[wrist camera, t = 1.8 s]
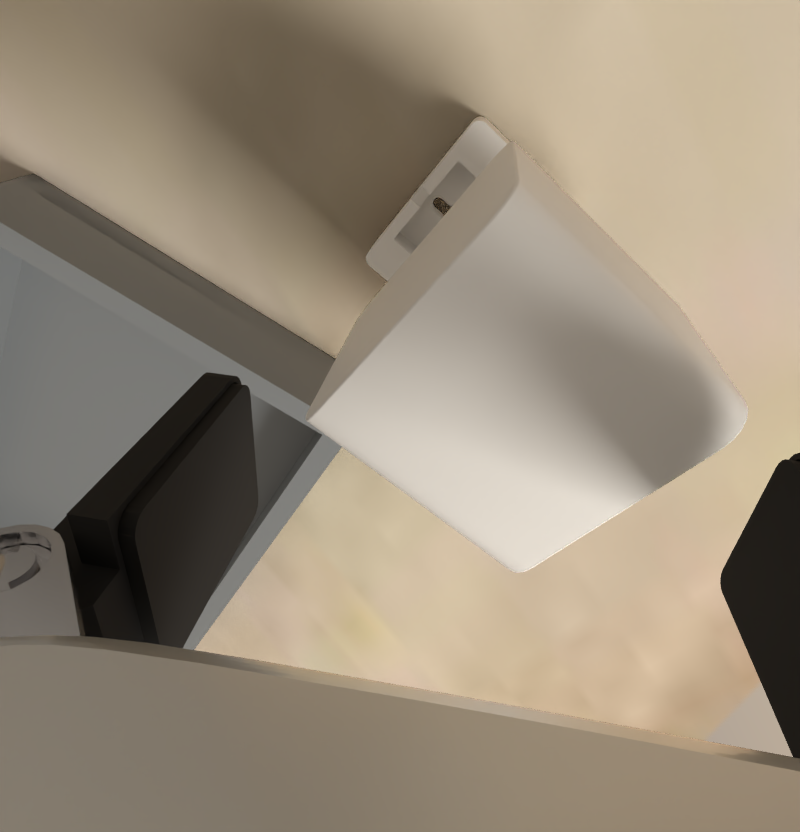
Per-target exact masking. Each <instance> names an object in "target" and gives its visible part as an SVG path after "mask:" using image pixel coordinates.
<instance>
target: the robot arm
mask: <svg viewBox="0 0 800 832" xmlns="http://www.w3.org/2000/svg"><path fill="white" fill-rule="evenodd" d="M257 508H258V486H257V473H256V460H255V447H254V434H253V421H252V408H251V395H250V389H249V387H248V386H247V385H242V384H241V381H240V378H238V377H237V376H232V375H224V374H217V373H210V372H206V373H205V374H203V375H202V376H201V377H200V378H199V379H198V380H197V381H196V382H195V383H194V384H193V385H192V386H191V387H190V388H189V389H188V390H187V392H186V393H185V394H184V395H183V396H182V397H181V398H180V399H179V400H178V401H177V402H176V403H175V404H174V405H173V406H172V407H171V408H170V409H169V410H168V411H167V412H166V413H165V414H164V415H163V416H162V417H161V418H160V419H159V420H158V421H157V422H156V423H155V424H154V425H153V426H152V427H151V428H150V429H149V430H148V431H147V432H146V433H145V434H144V435H143V436H142V437H141V438H140V440H139V441H138V442H137V443H136V444H135V445H134V446H133V447H132V448H131V449H130V450H129V451H128V452H127V453H126V454H125V455H124V456H123V457H122V458H121V459H120V460H119V461H118V462H117V463H116V464H115V465H114V466H113V467H112V468H111V469H110V470H109V471H108V472H107V473H106V474H105V475H104V476H103V477H102V478H101V479H100V480H99V481H98V482H97V483H96V484H95V485H94V486H93V487H92V489H91V490H90V491H89V492H88V493H87V494H86V495H85V496H84V497H83V498H82V499H81V500H80V501H79V502H78V503H77V504H76V505H75V506H74V507H73V508H72V509H71V510H70V511H69V512H68V513H67V516H66V517H65V518H64V519H63V520H62V521H61V522H60V523H59V524H58V525H57V526H56V527H55V528H54V529H51V528H49V527H45V526H41V525H37V524H20V525H14V526H9V527H3V528H0V832H800V453H797V454H795V455H793V456H792V457H791V458H790V459H789V460H782V461H781V462H780V463H779V464H778V466H777V467H776V469H775V471H774V473H773V475H772V477H771V478H770V480H769V482H768V484H767V486H766V488H765V490H764V492H763V494H762V496H761V498H760V500H759V501H758V503H757V505H756V507H755V509H754V511H753V513H752V515H751V517H750V519H749V521H748V522H747V524H746V526H745V528H744V530H743V532H742V534H741V536H740V538H739V540H738V542H737V544H736V545H735V547H734V549H733V551H732V553H731V555H730V557H729V559H728V561H727V563H726V565H725V567H724V568H723V571H722V573H721V589H722V593H723V595H724V597H725V600H726V602H727V604H728V607H729V609H730V611H731V614H732V616H733V618H734V621H735V623H736V625H737V628H738V630H739V632H740V634H741V637H742V639H743V641H744V644H745V646H746V648H747V651H748V653H749V655H750V658H751V660H752V662H753V665H754V667H755V669H756V672H757V674H758V676H759V679H760V681H761V683H762V686H763V688H764V690H765V692H766V695H767V697H768V699H769V702H770V704H771V706H772V709H773V711H774V713H775V716H776V718H777V720H778V723H779V725H780V727H781V730H782V732H783V734H784V737H785V739H786V741H787V744H788V746H789V748H790V750H791V753H792V755H793V757H789V756H784V755H778V754H773V753H767V752H762V751H757V750H752V749H746V748H741V747H735V746H730V745H725V744H719V743H714V742H709V741H703V740H698V739H693V738H687V737H682V736H677V735H671V734H666V733H661V732H655V731H650V730H644V729H639V728H633V727H628V726H622V725H617V724H611V723H606V722H601V721H595V720H590V719H584V718H579V717H573V716H568V715H562V714H557V713H551V712H546V711H540V710H535V709H529V708H524V707H518V706H512V705H507V704H501V703H496V702H490V701H485V700H479V699H474V698H468V697H463V696H457V695H451V694H446V693H440V692H435V691H429V690H424V689H418V688H412V687H407V686H401V685H395V684H390V683H384V682H378V681H372V680H367V679H361V678H355V677H350V676H344V675H338V674H333V673H327V672H321V671H316V670H310V669H304V668H298V667H293V666H287V665H281V664H276V663H270V662H264V661H259V660H253V659H246V658H240V657H234V656H227V655H221V654H215V653H209V652H202V651H196V650H190V649H183V647H184V645H185V643H186V641H187V639H188V637H189V636H190V634H191V632H192V630H193V628H194V627H195V625H196V623H197V621H198V619H199V617H200V616H201V614H202V612H203V610H204V608H205V607H206V605H207V603H208V601H209V599H210V597H211V596H212V594H213V592H214V590H215V588H216V586H217V585H218V583H219V581H220V579H221V577H222V576H223V574H224V572H225V570H226V568H227V566H228V565H229V563H230V561H231V559H232V557H233V556H234V554H235V552H236V550H237V548H238V546H239V545H240V543H241V541H242V539H243V537H244V535H245V534H246V532H247V530H248V528H249V526H250V525H251V523H252V521H253V519H254V517H255V515H256V512H257Z"/></svg>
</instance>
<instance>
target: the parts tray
mask: <svg viewBox="0 0 800 832" xmlns="http://www.w3.org/2000/svg"><path fill="white" fill-rule="evenodd" d="M335 360H336V359H334V358H332V357H331V356H329V355H327V354H326V353H324V352H323V351H321V350H319V349H318V348H316V347H314V346H313V345H311V344H310V343H308V342H306V341H305V340H303V339H301V338H300V337H298V336H297V335H295V334H293V333H292V332H290V331H288V330H287V329H285V328H284V327H282V326H280V325H279V324H277V323H275V322H274V321H272V320H271V319H269V318H267V317H266V316H264V315H262V314H261V313H259V312H258V311H256V310H254V309H253V308H251V307H249V306H248V305H246V304H245V303H243V302H241V301H240V300H238V299H236V298H235V297H233V296H232V295H230V294H228V293H227V292H225V291H223V290H222V289H220V288H219V287H217V286H215V285H214V284H212V283H210V282H209V281H207V280H206V279H204V278H202V277H201V276H199V275H197V274H196V273H194V272H193V271H191V270H189V269H188V268H186V267H184V266H183V265H181V264H180V263H178V262H176V261H175V260H173V259H171V258H170V257H168V256H167V255H165V254H163V253H162V252H160V251H158V250H157V249H155V248H154V247H152V246H150V245H149V244H147V243H145V242H144V241H142V240H141V239H139V238H137V237H136V236H134V235H132V234H131V233H129V232H128V231H126V230H124V229H123V228H121V227H119V226H118V225H116V224H115V223H113V222H111V221H110V220H108V219H106V218H105V217H103V216H102V215H100V214H98V213H97V212H95V211H93V210H92V209H90V208H89V207H87V206H85V205H84V204H82V203H80V202H79V201H77V200H76V199H74V198H72V197H71V196H69V195H67V194H66V193H64V192H63V191H61V190H59V189H58V188H56V187H54V186H53V185H51V184H50V183H48V182H46V181H45V180H43V179H41V178H40V177H38V176H37V175H35V174H31V175H27V176H24V177H20V178H16V179H12V180H8V181H5V182H1V183H0V528H3V527H9V526H14V525H20V524H37V525H41V526H45V527H49V528H51V529H54V528H55V527H56V526H57V525H58V524H59V523H60V522H61V521H62V520H63V519H64V518H65V517H66V516H67V513H68V512H69V511H70V510H71V509H72V508H73V507H74V506H75V505H76V504H77V503H78V502H79V501H80V500H81V499H82V498H83V497H84V496H85V495H86V494H87V493H88V492H89V491H90V490H91V489H92V487H93V486H94V485H95V484H96V483H97V482H98V481H99V480H100V479H101V478H102V477H103V476H104V475H105V474H106V473H107V472H108V471H109V470H110V469H111V468H112V467H113V466H114V465H115V464H116V463H117V462H118V461H119V460H120V459H121V458H122V457H123V456H124V455H125V454H126V453H127V452H128V451H129V450H130V449H131V448H132V447H133V446H134V445H135V444H136V443H137V442H138V441H139V440H140V438H141V437H142V436H143V435H144V434H145V433H146V432H147V431H148V430H149V429H150V428H151V427H152V426H153V425H154V424H155V423H156V422H157V421H158V420H159V419H160V418H161V417H162V416H163V415H164V414H165V413H166V412H167V411H168V410H169V409H170V408H171V407H172V406H173V405H174V404H175V403H176V402H177V401H178V400H179V399H180V398H181V397H182V396H183V395H184V394H185V393H186V392H187V390H188V389H189V388H190V387H191V386H192V385H193V384H194V383H195V382H196V381H197V380H198V379H199V378H200V377H201V376H202V375H203V374H205V373H206V372H210V373H217V374H224V375H232V376H237V377H238V378H240V381H241V384H242V385H247V386H248V387H249V389H250V395H251V408H252V421H253V434H254V447H255V460H256V473H257V486H258V508H257V512H256V515H255V517H254V519H253V521H252V523H251V525H250V526H249V528H248V530H247V532H246V534H245V535H244V537H243V539H242V541H241V543H240V545H239V546H238V548H237V550H236V552H235V554H234V556H233V557H232V559H231V561H230V563H229V565H228V566H227V568H226V570H225V572H224V574H223V576H222V577H221V579H220V581H219V583H218V585H217V586H216V588H215V590H214V592H213V594H212V596H211V597H210V599H209V601H208V603H207V605H206V607H205V608H204V610H203V612H202V614H201V616H200V617H199V619H198V621H197V623H196V625H195V627H194V628H193V630H192V632H191V634H190V636H189V637H188V639H187V641H186V643H185V645H184V647H183V649H190V650H194V649H195V648H196V646H197V645H198V644H199V642H200V641H201V639H202V638H203V637H204V635H205V634H206V633H207V631H208V630H209V628H210V627H211V626H212V624H213V623H214V622H215V620H216V619H217V618H218V616H219V615H220V613H221V612H222V611H223V609H224V608H225V607H226V605H227V604H228V602H229V601H230V600H231V598H232V597H233V596H234V594H235V593H236V591H237V590H238V589H239V587H240V586H241V585H242V583H243V582H244V580H245V579H246V578H247V576H248V575H249V574H250V572H251V571H252V569H253V568H254V567H255V565H256V564H257V563H258V561H259V560H260V558H261V557H262V556H263V554H264V553H265V552H266V550H267V549H268V547H269V546H270V545H271V543H272V542H273V541H274V539H275V538H276V536H277V535H278V534H279V532H280V531H281V530H282V528H283V527H284V526H285V524H286V523H287V521H288V520H289V519H290V517H291V516H292V515H293V513H294V512H295V510H296V509H297V508H298V506H299V505H300V504H301V502H302V501H303V499H304V498H305V497H306V495H307V494H308V493H309V491H310V490H311V488H312V487H313V486H314V484H315V483H316V482H317V480H318V479H319V477H320V476H321V475H322V473H323V472H324V471H325V469H326V468H327V466H328V465H329V464H330V462H331V461H332V460H333V458H334V457H335V455H336V454H337V453H338V451H339V450H340V449H341V446H340V445H339V444H337V443H336V442H335V441H333V440H332V439H331V438H329V437H328V436H326V435H325V434H324V433H322V432H321V431H320V430H318V429H317V428H316V427H314V426H313V425H311V424H310V423H309V422H307V421H306V414H307V412H308V410H309V408H310V406H311V404H312V402H313V401H314V399H315V397H316V395H317V393H318V391H319V389H320V388H321V386H322V384H323V382H324V380H325V378H326V376H327V374H328V373H329V371H330V369H331V367H332V365H333V363H334V361H335Z"/></svg>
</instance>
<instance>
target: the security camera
mask: <svg viewBox="0 0 800 832" xmlns="http://www.w3.org/2000/svg"><path fill="white" fill-rule="evenodd" d="M435 198H441V199H443V200H444V201H445V202H446V203H447V204H448V205H449V206H450V207H451V206H452V207H451V208H450V209H449V211H448V212H447V213H446V214H445V215H444V216H443V214H442V213H441V212H440V211H439V210H438V209H437V208H436V207H435V206H434V204H433V200H434V199H435ZM366 262H367V264H368V265H369V266H370V267H371V268H373V269H374V270H375V271H376V272H377V273H378V274H380V275H381V276H382V277H383V278H384V279H385V280H387V281H388V282H387V283H386V284H385V285H384V286H383V287H382V289H381V290H380V291H379V292H378V293H377V294H376V296H375V297H374V298H373V299H372V300H371V302H370V303H369V304H368V305H367V307H366V308H365V309H364V311H363V312H362V313H361V315H360V316H359V318H358V319H357V321H356V322H355V324H354V326H353V328H352V330H351V332H350V333H349V335H348V337H347V339H346V341H345V343H344V345H343V346H342V348H341V350H340V352H339V354H338V356H337V358H336V360H335V361H334V363H333V365H332V367H331V369H330V371H329V373H328V374H327V376H326V378H325V380H324V382H323V384H322V386H321V388H320V389H319V391H318V393H317V395H316V397H315V399H314V401H313V402H312V404H311V406H310V408H309V410H308V412H307V414H306V421H307V422H309V423H310V424H311V425H313V426H314V427H316V428H317V429H318V430H320V431H321V432H322V433H324V434H325V435H326V436H328V437H329V438H331V439H332V440H333V441H335V442H336V443H337V444H339V445H340V446H341V447H343V448H344V449H345V450H347V451H348V452H350V453H351V454H352V455H354V456H355V457H356V458H358V459H359V460H360V461H362V462H363V463H365V464H366V465H367V466H369V467H370V468H371V469H373V470H374V471H375V472H377V473H378V474H379V475H381V476H382V477H384V478H385V479H386V480H388V481H389V482H390V483H392V484H393V485H394V486H396V487H397V488H399V489H400V490H401V491H403V492H404V493H405V494H407V495H408V496H409V497H411V498H412V499H413V500H415V501H416V502H418V503H419V504H420V505H422V506H423V507H424V508H426V509H427V510H428V511H430V512H431V513H433V514H434V515H435V516H437V517H438V518H439V519H441V520H442V521H443V522H445V523H446V524H447V525H449V526H450V527H452V528H453V529H454V530H456V531H457V532H458V533H460V534H461V535H462V536H464V537H465V538H467V539H468V540H469V541H471V542H472V543H473V544H475V545H476V546H477V547H479V548H480V549H482V550H483V551H484V552H486V553H487V554H488V555H490V556H491V557H492V558H494V559H495V560H496V561H498V562H499V563H501V564H502V565H503V566H505V567H506V568H507V569H509V570H510V571H513V572H515V573H519V572H525V571H527V570H529V569H531V568H533V567H535V566H536V565H538V564H539V563H541V562H543V561H544V560H546V559H547V558H549V557H551V556H552V555H554V554H555V553H557V552H559V551H560V550H562V549H563V548H565V547H567V546H568V545H570V544H571V543H573V542H575V541H576V540H578V539H579V538H581V537H582V536H584V535H586V534H587V533H589V532H590V531H592V530H594V529H595V528H597V527H598V526H600V525H602V524H603V523H605V522H606V521H608V520H610V519H611V518H613V517H614V516H616V515H618V514H619V513H621V512H622V511H624V510H626V509H627V508H629V507H630V506H632V505H634V504H635V503H637V502H638V501H640V500H641V499H643V498H645V497H646V496H648V495H649V494H651V493H653V492H654V491H656V490H657V489H659V488H661V487H662V486H664V485H665V484H667V483H669V482H670V481H672V480H673V479H675V478H677V477H678V476H680V475H681V474H683V473H685V472H686V471H688V470H689V469H691V468H693V467H694V466H696V465H697V464H699V463H700V462H702V461H704V460H705V459H707V458H708V457H710V456H712V455H713V454H715V453H716V452H718V451H720V450H721V449H723V448H724V447H725V446H726V445H728V444H729V443H730V442H732V441H733V440H734V439H735V437H736V436H737V435H738V434H739V433H740V432H741V430H742V428H743V426H744V424H745V422H746V420H747V415H748V407H747V404H746V401H745V400H744V398H743V397H742V395H741V394H740V392H739V391H738V389H737V388H736V387H735V385H734V384H733V382H732V381H731V379H730V378H729V376H728V375H727V374H726V372H725V371H724V369H723V368H722V366H721V365H720V363H719V362H718V361H717V359H716V358H715V356H714V355H713V353H712V352H711V351H710V349H709V348H708V346H707V345H706V343H705V342H704V340H703V339H702V338H701V336H700V335H699V333H698V332H697V330H696V329H695V327H694V326H693V325H692V323H691V322H690V320H689V319H688V317H687V316H686V314H685V313H684V312H683V310H682V309H681V307H680V306H679V305H678V304H677V303H676V302H675V301H674V300H673V299H672V298H671V297H670V296H669V295H668V294H667V293H666V292H665V291H664V290H663V289H662V288H661V287H660V286H659V285H658V284H657V283H656V282H655V281H654V280H653V279H652V278H651V277H650V276H649V275H648V274H647V273H646V272H645V271H644V270H643V269H642V268H641V267H640V266H639V265H638V264H637V263H636V262H635V261H634V260H633V259H632V258H631V257H630V256H629V255H628V254H627V253H626V252H625V251H624V250H623V249H622V248H621V247H620V246H619V245H618V244H617V243H616V242H615V241H614V240H613V239H612V238H611V237H610V236H609V235H608V234H607V233H606V232H605V231H604V230H603V229H602V228H601V227H600V226H599V225H598V224H597V223H596V222H595V221H594V220H593V219H592V218H591V217H590V216H589V215H588V214H587V213H586V212H585V211H584V210H583V209H582V208H581V207H580V206H579V205H578V204H577V203H576V202H575V201H574V200H573V199H572V198H571V197H570V196H569V195H568V194H567V193H566V192H565V191H564V190H563V189H562V188H561V187H560V186H559V185H558V184H557V183H556V182H555V181H554V180H553V179H552V178H551V177H550V176H549V175H548V174H547V173H546V172H545V171H544V170H543V169H542V168H541V167H540V166H539V165H538V164H537V163H536V162H535V161H534V160H533V159H532V158H531V157H530V156H529V155H528V154H527V153H526V152H525V151H524V150H523V149H522V148H521V147H520V146H519V145H518V144H517V143H516V142H515V141H511V142H510V141H509V140H508V139H507V138H506V137H505V136H504V135H503V134H502V133H501V132H500V131H499V130H498V129H497V128H496V127H495V126H494V125H493V124H492V123H491V122H490V121H489V120H488V119H486V118H485V117H482V116H480V117H476V118H475V119H474V120H473V121H472V122H471V123H470V124H469V126H468V127H467V128H466V129H465V131H464V132H463V133H462V134H461V136H460V137H459V138H458V139H457V141H456V142H455V143H454V144H453V145H452V147H451V148H450V149H449V150H448V152H447V153H446V154H445V155H444V157H443V158H442V159H441V160H440V162H439V163H438V164H437V165H436V167H435V168H434V169H433V170H432V172H431V173H430V174H429V175H428V177H427V178H426V179H425V180H424V182H423V183H422V184H421V185H420V187H419V188H418V189H417V190H416V192H415V193H414V194H413V195H412V196H411V198H410V199H409V200H408V201H407V203H406V204H405V205H404V206H403V208H402V209H401V210H400V211H399V213H398V214H397V215H396V216H395V218H394V219H393V220H392V221H391V223H390V224H389V225H388V226H387V228H386V229H385V230H384V231H383V233H382V234H381V235H380V236H379V238H378V239H377V240H376V241H375V243H374V244H373V246H372V247H371V249H370V250H369V252H368V253H367V255H366Z"/></svg>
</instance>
